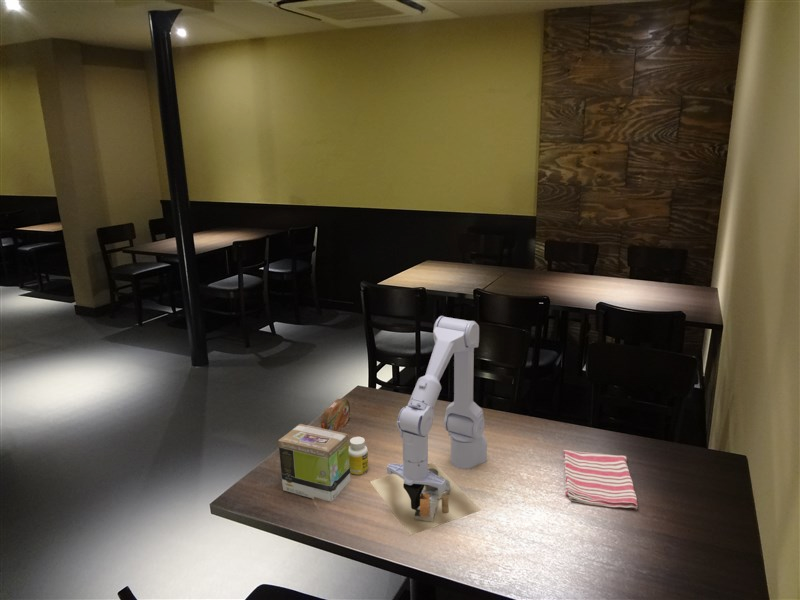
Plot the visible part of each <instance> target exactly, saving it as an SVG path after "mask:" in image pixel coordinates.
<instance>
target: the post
mask: <svg viewBox="0 0 800 600" xmlns="http://www.w3.org/2000/svg"><path fill="white" fill-rule="evenodd" d="M428 470H429V471H431V472H432V473H434V474H435V475H437V476H438V471H437V470H436V469H432V468H431V469H428ZM425 490H426V491H436V490H438V488H435V487H432V486H429V485H425Z"/></svg>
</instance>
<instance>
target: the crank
mask: <svg viewBox="0 0 800 600" xmlns="http://www.w3.org/2000/svg"><path fill="white" fill-rule="evenodd" d="M438 477H440V475H438ZM440 478H442V479H445V478H444V477H443V476H442V477H440ZM445 480H446V479H445ZM449 490H450V483H449V481H448V480H446V487H445V489H444V490H443V491H439V490H436V491H426V490H425V489H424V488H423V490H422V493H421V497H420V506H419V507H418V508H417V510H416V512H415V516H414V519H415V520H423V521H432V522H433V521H434V516H435V512H436V507H437V502H438V499H440V498H442V495H447V494H449Z"/></svg>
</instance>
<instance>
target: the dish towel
mask: <svg viewBox="0 0 800 600" xmlns="http://www.w3.org/2000/svg"><path fill="white" fill-rule="evenodd" d="M562 451H563V466H564V478H565V479H564V480H565V484H564V495H565V498H566V499H567V500H568V501H570V502H576V503H580V504H585V505H591V506H597V507H598V506H600V507H607V508H624V509H625V508H626V509H627V508H628V509H633V510H636V511H637V510H638V508H639V507H638V505H639V503H638V500H637V499H638V498H637V495H636V491H635V488H634V486H635V485H634V482H633V479H632V477H631V474H630V470H629V467H628V463H627V458H628V457H627V455H617V454H616V455H614V454H607V453H597V452H587V451H585V452H584V451H575V450H570V449H562Z"/></svg>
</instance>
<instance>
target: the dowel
mask: <svg viewBox="0 0 800 600" xmlns="http://www.w3.org/2000/svg"><path fill="white" fill-rule="evenodd" d="M442 512H443V513H448V512H449V496H448V495H442Z"/></svg>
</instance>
